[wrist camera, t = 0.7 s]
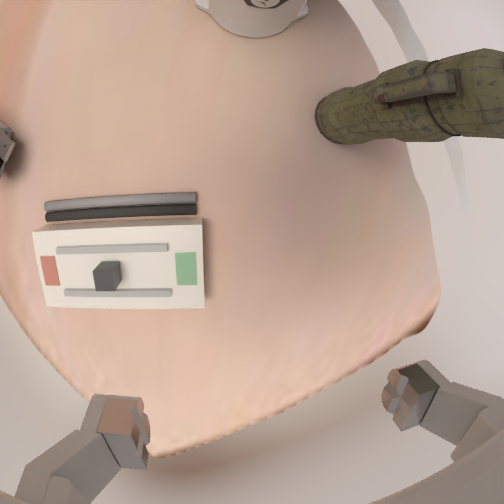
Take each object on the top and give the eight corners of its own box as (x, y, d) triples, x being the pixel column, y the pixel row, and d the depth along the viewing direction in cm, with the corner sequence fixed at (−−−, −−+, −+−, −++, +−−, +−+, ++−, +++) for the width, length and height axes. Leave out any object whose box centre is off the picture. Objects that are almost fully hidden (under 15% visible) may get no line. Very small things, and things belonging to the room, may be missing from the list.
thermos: (372, 140, 46) (557, 150, 13) (312, 148, 45) (501, 151, 12) (363, 92, 43) (539, 53, 10) (301, 96, 42) (470, 16, 9)
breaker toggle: (101, 261, 40) (92, 271, 36) (119, 261, 40) (111, 271, 36) (104, 280, 41) (95, 291, 37) (121, 280, 41) (114, 291, 37)
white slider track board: (46, 224, 41) (29, 233, 36) (202, 217, 46) (202, 226, 40) (58, 294, 45) (44, 308, 40) (204, 293, 49) (204, 310, 44)
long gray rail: (48, 200, 40) (43, 202, 39) (195, 191, 44) (195, 192, 43) (50, 220, 41) (45, 222, 40) (195, 213, 45) (195, 215, 44)
